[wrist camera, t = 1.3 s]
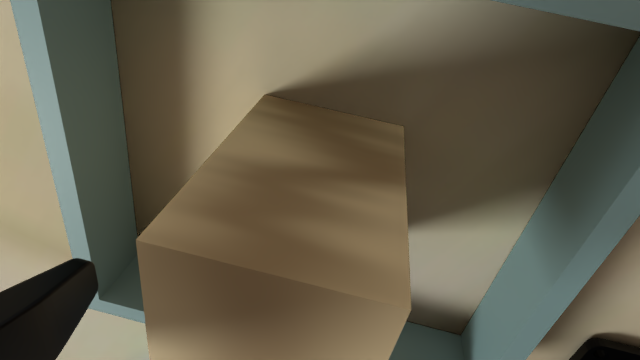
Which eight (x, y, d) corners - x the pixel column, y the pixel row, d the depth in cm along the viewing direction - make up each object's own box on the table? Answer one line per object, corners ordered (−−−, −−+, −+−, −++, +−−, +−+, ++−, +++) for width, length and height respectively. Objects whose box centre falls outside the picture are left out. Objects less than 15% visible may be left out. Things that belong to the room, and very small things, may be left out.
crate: (696, -1, 10) (795, 17, 8) (471, 350, 18) (482, 413, 16) (70, -128, 11) (-27, -151, 9) (125, 260, 19) (84, 307, 17)
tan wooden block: (403, 126, 13) (411, 309, 7) (369, 234, 16) (349, 443, 9) (264, 94, 14) (135, 239, 7) (253, 206, 16) (153, 389, 10)
